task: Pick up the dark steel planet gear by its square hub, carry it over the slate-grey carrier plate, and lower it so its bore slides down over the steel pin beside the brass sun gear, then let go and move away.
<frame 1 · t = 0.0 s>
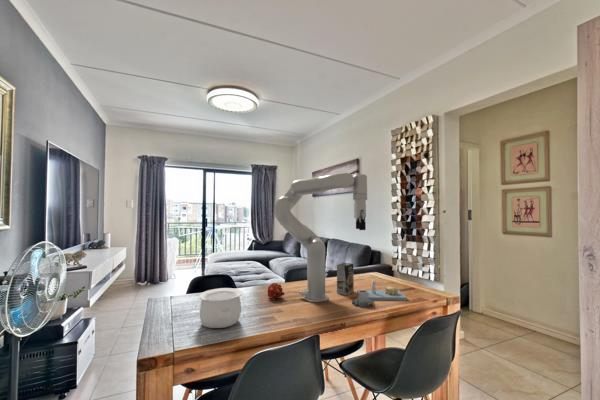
hand: (360, 229, 150), 37 cm above the table, tool pointing down, fingers open, 9 cm apart
carrier: (384, 296, 154), on the table
coffee box: (345, 292, 161), on the table
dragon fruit: (275, 298, 151), on the table
planet gear: (362, 304, 141), on the table
pot: (220, 323, 118), on the table
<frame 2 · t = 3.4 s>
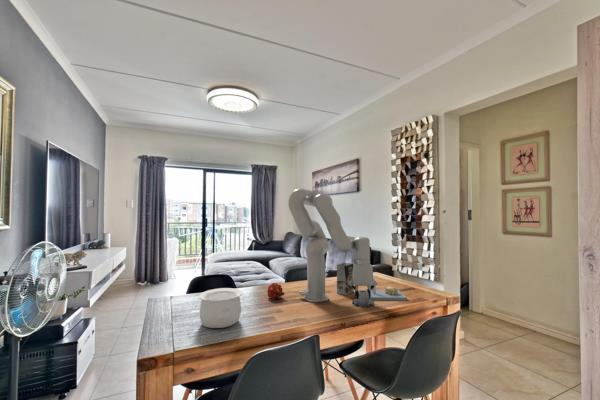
hand: (362, 298, 141), 3 cm above the table, tool pointing down, fingers closed on planet gear, 4 cm apart
planet gear: (362, 304, 141), on the table, touching gripper
everything else where it was.
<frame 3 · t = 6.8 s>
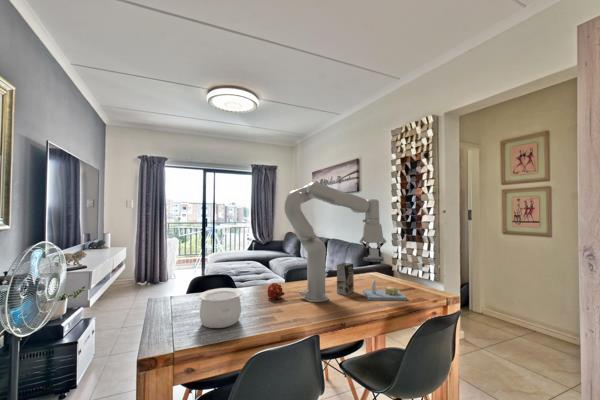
hand: (373, 254, 154), 23 cm above the table, tool pointing down, fingers closed on planet gear, 4 cm apart
planet gear: (373, 260, 154), point 20 cm above the table, touching gripper
everything else where it was.
when the fingers open (6 cm above the table, at t = 10.0 s): planet gear drops 1 cm, resting on carrier.
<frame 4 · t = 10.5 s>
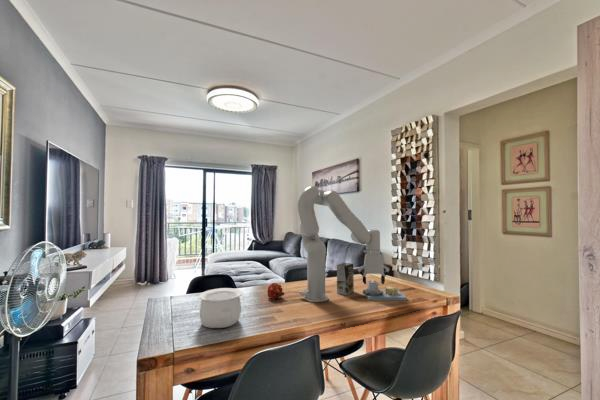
hand: (373, 283, 154), 7 cm above the table, tool pointing down, fingers open, 9 cm apart
planet gear: (372, 293, 154), point 1 cm above the table, touching carrier
everything else where it was.
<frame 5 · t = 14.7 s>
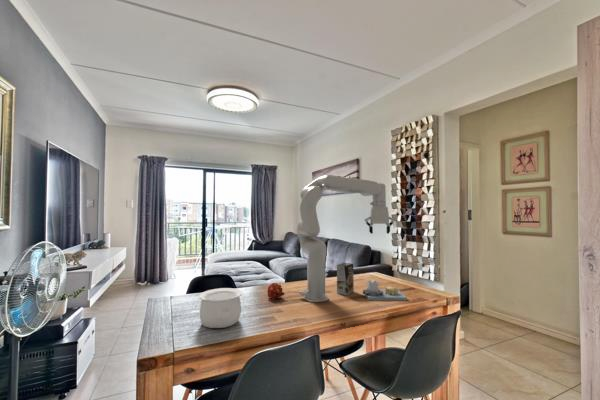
hand: (379, 233, 166), 33 cm above the table, tool pointing down, fingers open, 9 cm apart
nothing on the table moved.
at the end: planet gear 0.6 cm from the target spot on the carrier, point 1.5 cm above the carrier's base; planet gear tilted 0°; the gripper is holding nothing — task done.
